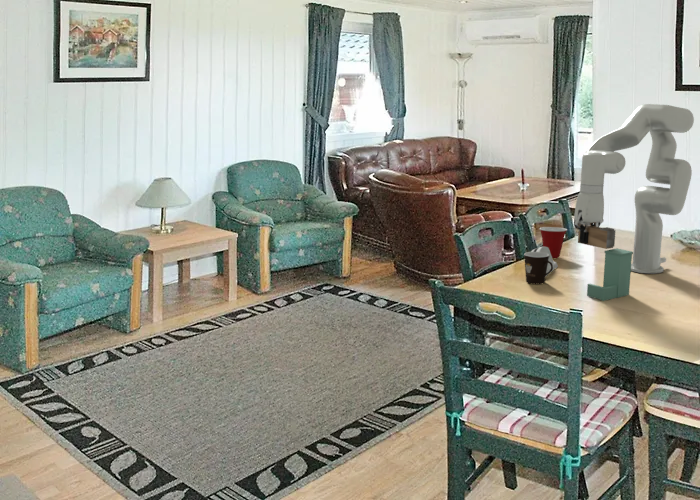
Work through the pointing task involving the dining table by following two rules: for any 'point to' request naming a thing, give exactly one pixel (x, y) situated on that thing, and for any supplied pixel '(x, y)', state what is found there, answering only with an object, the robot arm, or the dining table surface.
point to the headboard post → (613, 276)
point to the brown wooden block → (600, 237)
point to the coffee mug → (536, 267)
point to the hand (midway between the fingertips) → (587, 241)
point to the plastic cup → (553, 239)
